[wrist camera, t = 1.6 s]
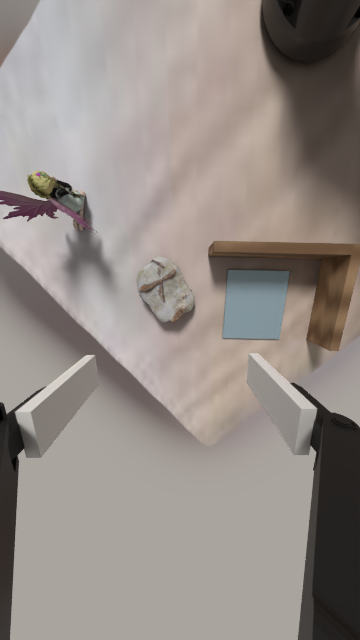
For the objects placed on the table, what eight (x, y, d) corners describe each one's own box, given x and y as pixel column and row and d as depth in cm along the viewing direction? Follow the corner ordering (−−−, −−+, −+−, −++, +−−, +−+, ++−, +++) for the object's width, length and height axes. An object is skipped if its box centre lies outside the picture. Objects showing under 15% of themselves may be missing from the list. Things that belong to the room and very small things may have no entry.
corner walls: (208, 247, 34) (214, 241, 28) (332, 250, 34) (364, 244, 28) (203, 337, 38) (207, 347, 32) (313, 339, 38) (338, 350, 32)
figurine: (118, 198, 32) (65, 129, 17) (115, 244, 34) (65, 218, 19) (43, 185, 31) (-78, 103, 17) (44, 233, 33) (-64, 197, 19)
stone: (129, 278, 35) (124, 277, 31) (166, 251, 34) (166, 247, 31) (164, 327, 36) (163, 331, 33) (201, 301, 36) (203, 303, 33)
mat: (227, 269, 34) (228, 269, 34) (289, 271, 34) (290, 271, 34) (222, 337, 38) (222, 338, 37) (278, 338, 38) (279, 339, 37)
